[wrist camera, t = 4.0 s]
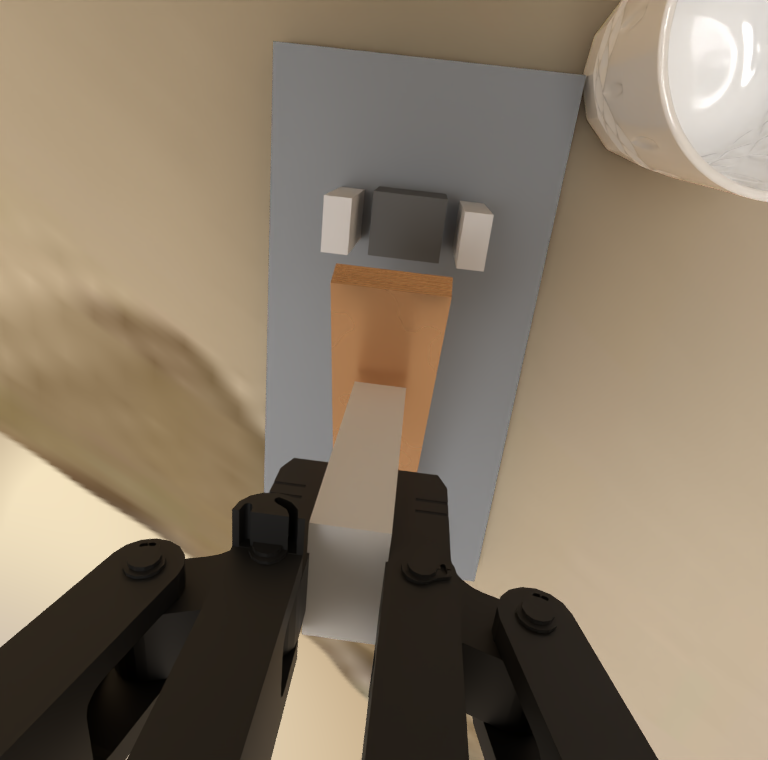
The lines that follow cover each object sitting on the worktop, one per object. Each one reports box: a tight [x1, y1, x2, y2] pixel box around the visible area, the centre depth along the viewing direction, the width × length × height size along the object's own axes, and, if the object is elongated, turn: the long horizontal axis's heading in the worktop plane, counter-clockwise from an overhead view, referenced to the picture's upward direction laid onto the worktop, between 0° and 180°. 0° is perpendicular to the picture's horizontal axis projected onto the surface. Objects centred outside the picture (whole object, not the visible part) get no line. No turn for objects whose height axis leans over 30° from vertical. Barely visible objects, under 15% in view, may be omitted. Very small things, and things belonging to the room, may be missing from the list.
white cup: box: [583, 0, 768, 202], centre depth 17 cm, size 8×8×10 cm
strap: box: [330, 263, 453, 472], centre depth 21 cm, size 19×3×1 cm, turn 174°
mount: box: [264, 41, 586, 581], centre depth 25 cm, size 25×12×6 cm, turn 174°
